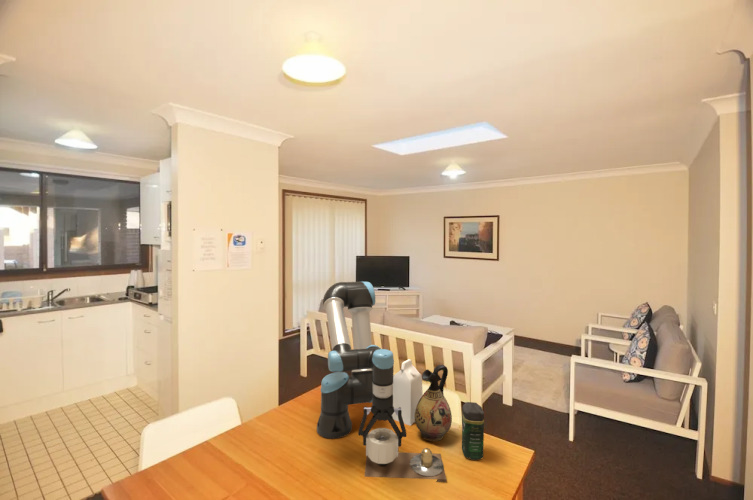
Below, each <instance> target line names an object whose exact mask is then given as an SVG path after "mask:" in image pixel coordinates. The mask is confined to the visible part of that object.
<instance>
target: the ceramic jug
mask: <svg viewBox="0 0 753 500" xmlns="http://www.w3.org/2000/svg"><path fill="white" fill-rule="evenodd" d="M440 371H442V375H441V376H440V375H439V372H440ZM448 374H449V370H448V367H447V366H446V365H444V364H438V365H436V366H435V367H434V369H433V371H431V370H430V369H425V370H424V371H423V372H422V374H421V376H422V381H424V382H429V384H430V385H429V386H428V388H427V389H426V391H424V392H423V396H422V397H421V398H420V400H419V402H418V404H417V406H416V410H415V422H414V423H415V426H416V428H417V429H418V430H419V432H420V435H421V438H422V439H424V440H425V441H429V442H438V441H441V440H442V439H443V438H444V436H445V435H446V433H447V432H449V430H450V428H451V426H452V420H453V419H452V418H453V417H452V416H453V415H452V411H451V407H450V403H449V402H448V400H447V399H446V397H445V395H444V390H445V389H444V388H445V385H446V381H447V378H448Z"/></svg>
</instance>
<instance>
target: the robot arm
mask: <svg viewBox="0 0 753 500" xmlns="http://www.w3.org/2000/svg"><path fill="white" fill-rule="evenodd" d="M375 305H376V292H375V289H374V286H373V284H372V283H371V282H369V281H363V280H362V281H344V282H343V281H340V282H336V283H334V284H332V285H331V286H330V287H329V288H328V289H326V291H325V293H324V295H323V299H322V308H323V310H324V311H325V313H326V319H327V320H326V321H327V326H328V331H329V332H328V333H329V339H330V347H331V351H329V352H327V353H328V354H327V366H328V371H330V372H332V373H329V374H327V375H325V376H324V377H323V378H322V380H321V385H320V414H319V417H318V420H317V423H316V432H317V433H316V434H318V435H319V436H321V437H323V438H324V439H325V438H326V439H331V440H332V439H333V440H334V439H340V438H344V437H346V436H348V435H349V434H351V431H352V430H353V422H352V419H351V416H350V413H349V405H357V404H358V405H359V404H367V403H368V404H371V407H367V406H364V407H363V415H362V417H361V422H360V424H359V428H358V433H357V434H358V436H362V445H363V446H365V456H366V457H367V456H368V436H369V433H370V432H371V431H372V428H373V427H374V424H376V422H377V421H385V422H386V421H387V422H388V423H389V424H390V426H391V428H392V430H393V432H394V433H395V434H396V457H398V452H399V447H401V448H402V438H406V437H407V435H408V434H407V429H406V426H405V425H406V424H404V422H403V419H402V415H401V414H402V411H401V407H399V408H398V409H397V408H394V407H393V376H394V369H395V368H394V364H395V360H394V353H393V351H392V350H389V349H387V348H386V349H385V348H382V347H379V345H376V344H373V341H372V328H371V327H372V325H371V318H370V317H371V315H370V313H371V312H372V310H373V306H375ZM344 307H345V308H346V307H347V311H348V312H349V313H350V314H351V327H352V328H351V329H352V344H353V349H352V346H351V340H350V336H349V331H348V326H347V321H346V317H345V311H344ZM347 371H351V375H349V373H347ZM370 412H371V414H372V417H371V419H370V420H369V422H368V424H367V425H366V427H365V424H366V421H367V417H368V415H369V414H370ZM394 412H395V413H396V415H397V416H398V419H399V421H398V422H399V423H398V424H399V426H400V428H399V427H398V425H397V423H396V420H394V419H393V417H392V414H393V413H394ZM364 427H365V429H364ZM400 429H401V430H400Z"/></svg>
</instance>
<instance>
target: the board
mask: <svg viewBox="0 0 753 500" xmlns="http://www.w3.org/2000/svg"><path fill="white" fill-rule="evenodd" d="M419 454H421V452H399V451H398V457H396V458H395V459H394V460H393V461H392V462H390V463H387V465H386V466H384V467H381V466H379V465H378V463H375V462H373V461H371V460H370V458H369V457H368V456H366V460H365V467H364V478H365V477H367V478H368V477H369V478H388V479H389V478H395V479H397V478H398V479H420V480H421V479H422V480H427V479H428V480H436V481H435V482H437V483H447V475H446V471H445V467H444V468H443V471H442V472H441V473H440V474H439V475H437V476H433V477H426V476H421V475H419V474H417V473H415V472H414V471H413V470H412V469H411V467H410V461H411V459H412V458H413V457H414V456H416V455H419ZM432 455H433V456H436V457H437V458H439V459H440V460H441V461H442V463H443V458H442V455H441V453H433V452H432ZM443 464H444V463H443Z"/></svg>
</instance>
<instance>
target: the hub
mask: <svg viewBox="0 0 753 500" xmlns="http://www.w3.org/2000/svg"><path fill="white" fill-rule="evenodd" d="M420 453H421V454H419V455H416V456H414V457H413V458H412V459H411V461H410V467H411V469H412V470H413V471H414V472H415V473H417V474H419V475H421V476H426V477H433V476H437V475H439V474H440V473H441V472H442V471H443V468H444V469H445V467H444V463H442V462H443V460H442V461H441V460H440V459H439V458H437V457H436V456H433V455H432V453H433V451H432V450H431V449H430V448H428V447H425V448H422V450H421V452H420Z"/></svg>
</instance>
